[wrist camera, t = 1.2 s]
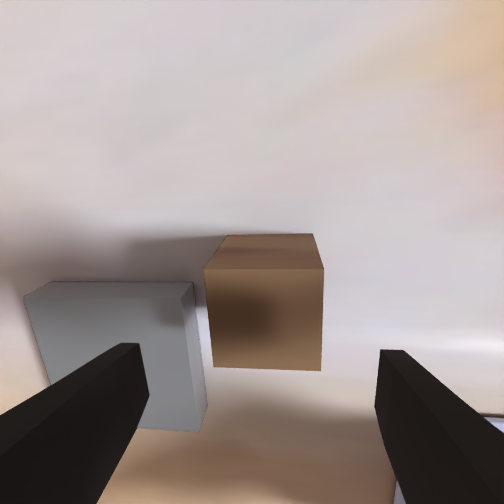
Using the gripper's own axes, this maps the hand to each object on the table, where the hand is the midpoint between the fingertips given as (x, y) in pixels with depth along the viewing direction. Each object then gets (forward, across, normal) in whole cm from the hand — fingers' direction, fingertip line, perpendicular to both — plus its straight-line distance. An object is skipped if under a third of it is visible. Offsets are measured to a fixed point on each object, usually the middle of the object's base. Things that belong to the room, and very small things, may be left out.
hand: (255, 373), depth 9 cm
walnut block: (+8, 0, 0) cm, 8 cm away
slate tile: (+8, +9, +5) cm, 13 cm away
